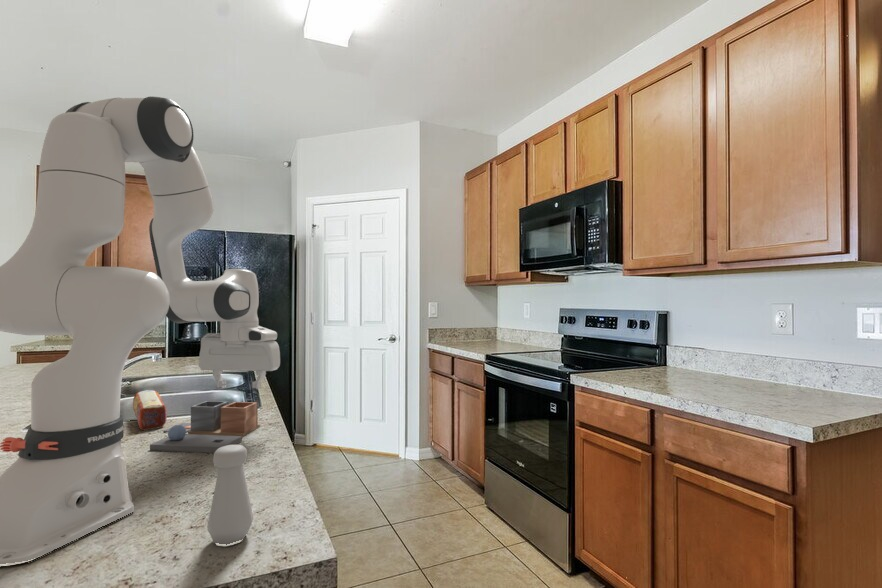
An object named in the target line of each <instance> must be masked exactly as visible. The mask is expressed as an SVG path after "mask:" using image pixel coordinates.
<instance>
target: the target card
mask: <svg viewBox="0 0 882 588" xmlns="http://www.w3.org/2000/svg"><path fill="white" fill-rule="evenodd" d="M178 425H182V426H183V427H184V428H185V429H186V434H188V432H189V431H191V422H182V423H179V424H178ZM170 428H171V427H169V428H167V429H164V430H163V432H164V433H168V431H169V429H170Z"/></svg>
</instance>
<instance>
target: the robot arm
mask: <svg viewBox="0 0 882 588" xmlns="http://www.w3.org/2000/svg"><path fill="white" fill-rule="evenodd" d="M193 143H194V128H193V125H192V121H191V119H190V117H189V116H188V114H187V112H186V111H185V110H184V109H183V108H182V107H181V106H180V105H179V104H178V103H177V102H176V101H174V100H172V99H169V98H165V97H160V96H147V97H146V96H145V97H113V98H105V99H101V100H100V99H99V100H96V101H93V102H90V101H85V102H81V103H78V104H75V105H73V106H71V107H69V109H67V110H66V111H65V112H63V113H59V114H58V115H55V116H54V117H53V118H52V120H51V121H50V123H49V126H48V129H47V130H46V134H45V137H44V140H43V144H42V148H41V149H42V150H41V154H40V160H39V167H38V170H39V171H38V182H37V183H38V185H37V187H38V188H37V197H36V205H35V210H34V211H35V213H34V218H33V222H32V225H31V229H30V230H29V232H28V234H27V236H26V238H25V240H24V242H23V243H22V244H21V246H20V247H19V248H18V250H17V251H16V252H15V253H14V254H13V255H12V256H11V257H10V258H9V259H8V260H7V261H5V262H4V263H3V264H1V265H0V332H1V333H2V332H3V333H9V334H15V335H23V336H72V337H73V339H72V344H71V347H70V349H69V351H68V352H67V354H66V355H65V356H64V357H62V358H59V359H58V360H55V361H53V362H51V363H49V364H47V365H45V367H42V368H41V369H40V370H39V371H38V372H37V374H36V375H35V376H34V377H33V380H32V381H31V385H30V386H31V389H30V391H31V392H30V393H31V394H30V395H31V398H30V399H31V401H30V402H31V406H30V407H31V410H30V411H31V412H30V413H31V416H30V417H31V418H30V421H31V422H30V427H29V428H28V429H27V432H25V433H26V434H25V435H24V438H22V437H12V436H11V437H10V436H9V437H5V438H4V439H2V441H1V442H0V450H1V451H2V452H5V453H7V452H8V453H9V452H10V453H11V452H12V453H17V452H18V454H17V456H18V458H17V459H16V460H15V461H14V462H13V463H12V464H11V465H10V466H8V468H7V469H6V470H5V471H4V472H3V473H2V474H0V564H6V563H15V562H22V561H28V560H31V559H34V558H37V557H38V556H41V555H43V554H46V553H48V552H50V551H52V550H54V549H57V548H59V547H61V546H63V545H65V544H67V543H69V542H71V541H73V540H75V539H77V538H79V537H81V536H83V535H85V534H88V533H89V532H92V531H93V530H96V529H98V528H100V527H102V526H105V525H107V524H109V523H111V522H113V521H115V520H117V519H119V520H121V519H123V518H125V517H127V516H129V515H131V514H133V513H134V512H135V506H134V505H135V504H134V503H133V496H132V493H131V491H130V488H129V481H128V480H129V479H128V473H127V472H128V471H127V466H126V460H125V456H124V453H123V450H122V442H121V441H122V439H123V438H124V429H125V425H124V416H123V415H121V394H122V393H121V392H122V391H121V390H122V381H123V373H124V369H125V366H126V362H127V360H128V358H129V357H130V354H131V352H132V350H133V349H134V347H135V346H136V345H137V344H138V343H139V341H140V340H141V339H143V338H144V337H145V336H146V335H147V334H148V333H150V332H151V331H153V330H154V329H155V328H157V327H158V326H159V325H161V323H162V322H163V321H164V319H165V318H167V319H168V320H170V322H173V323H175V324H185V323H187V324H189V323H194V322H195V323H196V322H201V323H203V322H204V323H205V322H209V323H210V322H211V323H212V322H219V323H220V328H219V329H220V330H219V331H220V332H216V333H212V332H211V333H206V334H204V335H203V336H202V337H201V338H200V351H199V357H198V367H199V369H200V370H201V371H212V376H213V378H214V380H215V381H216V388H217V389H226V388H227V380H225V379H224V378H223V376H222V374H224V373H223V371H232V372H233V371H239V372H240V371H244V372H246V371H247V372H255V373H256V376H257V377H256V380H255V381H252V382H251V383H252V384H251V385H252V386H251V388H252V390H260V389H262V381H263V380H264V378H265V376H266V375H267V372H273V371H277V370H278V369H279V368H280V366H281V351H280V346H279V344H278V342H277V341H276V340H277V338H278V332H277V331H275V330H272V329H269V328H267V327H263V326H261V325H259V323H260V322H259V317H258V309H259V304H260V303H259V302H260V301H259V298H260V297H259V296H260V294H259V291H260V290H259V284H258V278H257V275H256V273H255V272H253V271H252V270H250V269H245V268H238V267H237V268H236V267H235V268H234V267H231V268H227V269H225V270H224V271H223V274H222V275H220V276H219V277H218V278H214V279H213V280H198V281H197V280H192V279H191V278H189V277H188V276H187V272H186V267H185V263H184V262H185V261H184V256H183V250H182V244H183V240H184V239H185V238H186V237H187V236H188V235H190V234H192V233H194V232H196V231H198V230H199V229H201V228H203V227H204V226H205V225H206V224H207V223H208V222H209V221H210V220H211V218H212V216H213V214H214V211H215V210H214V208H215V205H214V199H213V195H212V191H211V188H210V185H209V182H208V178H207V176H206V173H205V171H204V167H203V166H202V163H201V161H200V159H199V157H198V154H197V152H196V150H195V149H194V147H193V145H194V144H193ZM125 163H138V164H140V166H141V167H142V168H143V170H144V172H143V173H144V175H145V180H146V184H147V187H148V189H149V194H150V196H151V199H152V203H153V217H152V218H151V220H150V222H149V226H148V232H149V239H150V246H151V251H152V256H153V260H154V265H155V270H156V273H155V272H152V271H147V270H144V269H143V270H142V269H137V268H131V267H126V266H93V265H91V266H86V262H87V260H88V259H89V257H90V256H91V254H92V253H93V252H94V251H95V250H96V249H98V248H99V247H102V246H103V245H106V244H108V243H111V242H113V241H114V240H116V239H117V238H118V237H119V236H120V234H121V233H122V232H123V228H124V225H125V224H124V220H125V201H126V198H125V197H126V165H125ZM133 511H134V512H133ZM132 512H133V513H132ZM130 513H131V514H130ZM128 514H129V515H128ZM126 515H127V516H126ZM124 516H125V517H124ZM122 517H123V518H122ZM120 518H121V519H120ZM117 521H118V520H117ZM115 522H116V521H115ZM113 523H114V522H113ZM111 524H112V523H111ZM109 525H110V524H109ZM107 526H108V525H107ZM105 527H106V526H105ZM102 528H103V527H102ZM100 529H101V528H100ZM98 530H99V529H98ZM96 531H97V530H96ZM92 533H93V532H92ZM88 535H89V534H88ZM77 540H78V539H77ZM75 541H76V540H75ZM73 542H74V541H73ZM71 543H72V542H71ZM69 544H70V543H69ZM67 545H68V544H67ZM65 546H66V545H65ZM63 547H64V546H63ZM61 548H62V547H61ZM59 549H60V548H59ZM57 550H58V549H57ZM50 553H51V552H50ZM48 554H49V553H48ZM46 555H47V554H46Z"/></svg>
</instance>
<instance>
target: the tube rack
mask: <svg viewBox="0 0 882 588" xmlns="http://www.w3.org/2000/svg"><path fill="white" fill-rule="evenodd" d="M258 409H259V408H258V401H256V402H254V401H253V402H252V401H250V402H249V401H234V402H232V403H229V401H220V400H218V401H216V400H206V401H203V402H200V403H197V404H194V405H191V406H190V423H191V431H189V432H187V434H198V435H224V436H242V437H244V436H247V435H248V434H250V433H252V432H253V431H255V430H257V429H259V428H260V426H261V425H260V424H258V422H259V419H258V417H259V416H258V415H259V414H258V413H259V411H258ZM258 427H259V428H258ZM251 431H252V432H251Z"/></svg>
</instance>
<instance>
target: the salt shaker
mask: <svg viewBox="0 0 882 588" xmlns="http://www.w3.org/2000/svg"><path fill="white" fill-rule="evenodd" d="M212 457H213V458H212V460H213V462H212V463H213V465H214V467H215V468H218V470H217V475H216V480H215V486H214V491H213V496H212V500H211V501H212V502H211V506H210V510H209V517H208V521H207V522H208V523H207V525H206V526H207V533H209V535H210V536H211V540H212V542H213V544H214V543H219V544H226V545H227V544H230V543H233V542H236V541H239V540H242V539H243V538H244V537H245V536H246V534H247V535H248V534H249V530H250V528H251V526H252V523H253V520H254V515H253V510H252V505H251V500H250V495H249V491H248V490H249V489H248V485H247V480H246V476H245V469H244V466H243V465H244V464H245V463H246V461H247V459H248V451H247V448H246V447H244V446H243V444H236V445H227V446H223V447H221V448H219V449H217V450H216V451H215V453H213V456H212ZM246 537H247V536H246ZM246 537H245V538H246ZM245 538H244V539H245Z"/></svg>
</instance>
